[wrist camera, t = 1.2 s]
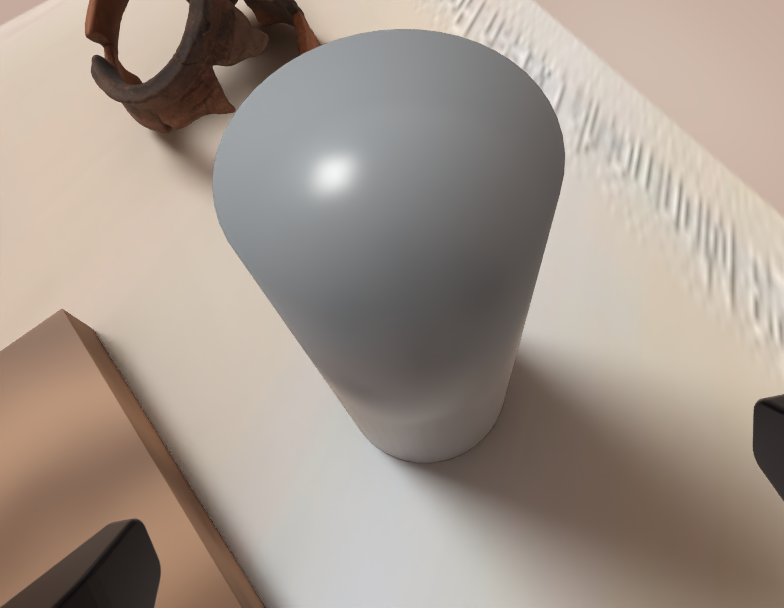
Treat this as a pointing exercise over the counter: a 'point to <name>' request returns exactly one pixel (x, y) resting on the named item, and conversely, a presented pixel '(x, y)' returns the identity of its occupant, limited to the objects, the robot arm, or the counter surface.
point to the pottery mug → (188, 58)
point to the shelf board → (95, 472)
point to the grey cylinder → (398, 224)
